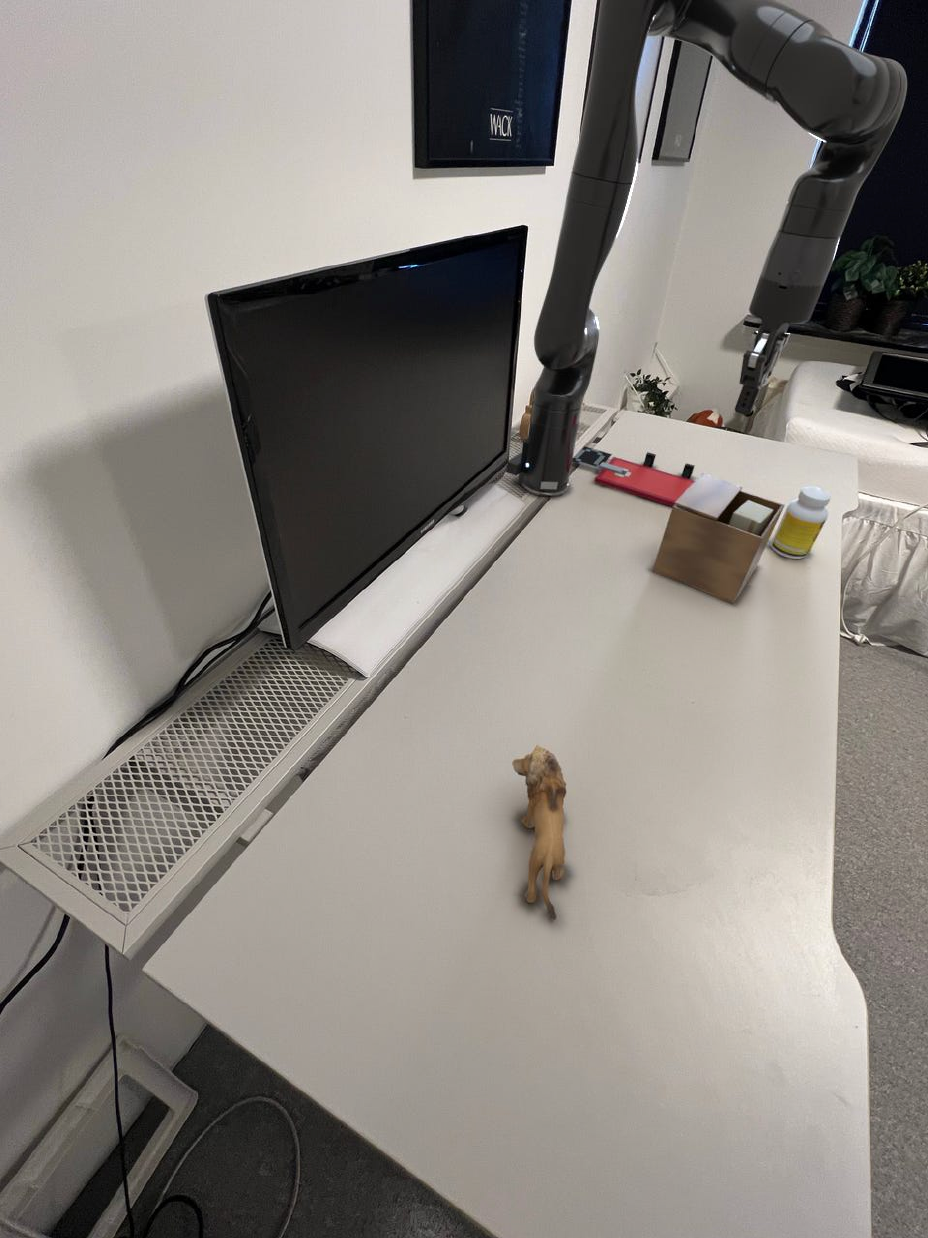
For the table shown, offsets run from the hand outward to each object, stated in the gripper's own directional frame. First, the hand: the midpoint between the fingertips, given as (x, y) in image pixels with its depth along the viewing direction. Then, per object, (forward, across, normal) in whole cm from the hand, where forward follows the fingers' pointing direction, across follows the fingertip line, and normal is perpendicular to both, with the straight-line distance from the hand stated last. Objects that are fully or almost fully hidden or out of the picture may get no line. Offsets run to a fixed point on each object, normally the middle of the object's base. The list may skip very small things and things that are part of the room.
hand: (742, 411), depth 85 cm
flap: (+14, 0, 0) cm, 14 cm away
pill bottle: (+27, -16, +13) cm, 34 cm away
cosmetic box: (+26, -1, +7) cm, 27 cm away
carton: (+27, 0, +3) cm, 27 cm away
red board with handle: (+27, -23, -19) cm, 40 cm away
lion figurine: (+27, +61, +6) cm, 67 cm away
